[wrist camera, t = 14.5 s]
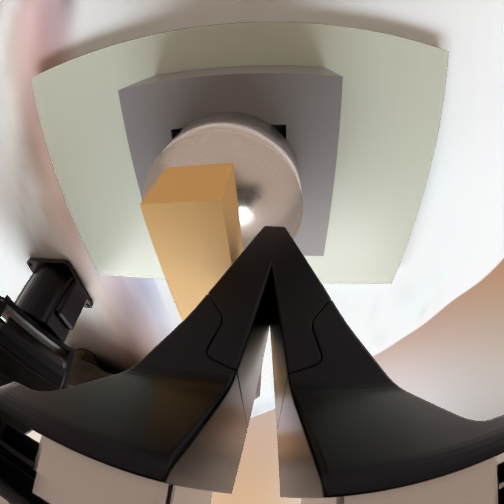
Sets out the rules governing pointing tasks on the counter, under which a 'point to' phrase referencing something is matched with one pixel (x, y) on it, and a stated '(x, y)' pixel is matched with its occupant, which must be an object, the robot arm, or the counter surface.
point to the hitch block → (263, 107)
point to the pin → (242, 167)
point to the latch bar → (194, 230)
